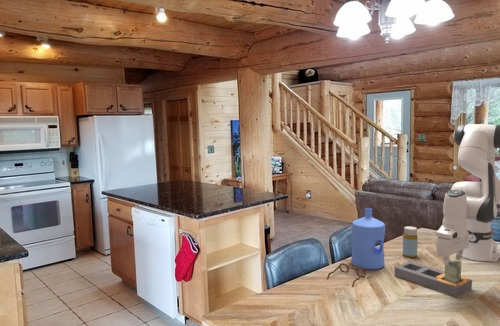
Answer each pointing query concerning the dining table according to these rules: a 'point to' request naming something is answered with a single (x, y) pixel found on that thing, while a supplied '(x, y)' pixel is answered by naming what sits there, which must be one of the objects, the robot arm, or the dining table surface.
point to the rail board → (432, 278)
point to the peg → (453, 271)
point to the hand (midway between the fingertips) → (452, 262)
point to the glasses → (348, 270)
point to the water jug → (367, 242)
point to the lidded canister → (410, 241)
